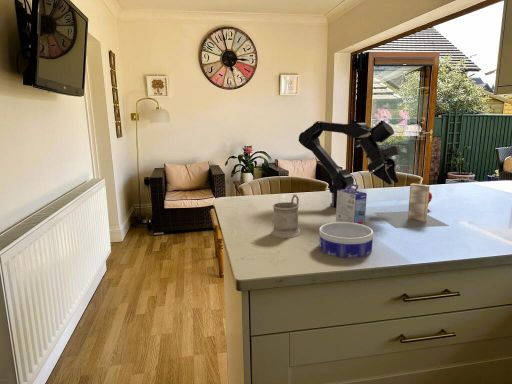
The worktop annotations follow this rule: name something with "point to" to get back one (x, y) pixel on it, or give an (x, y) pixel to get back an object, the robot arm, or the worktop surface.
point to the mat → (407, 220)
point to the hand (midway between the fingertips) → (394, 183)
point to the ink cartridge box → (351, 205)
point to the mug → (286, 219)
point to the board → (418, 202)
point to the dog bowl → (345, 239)
